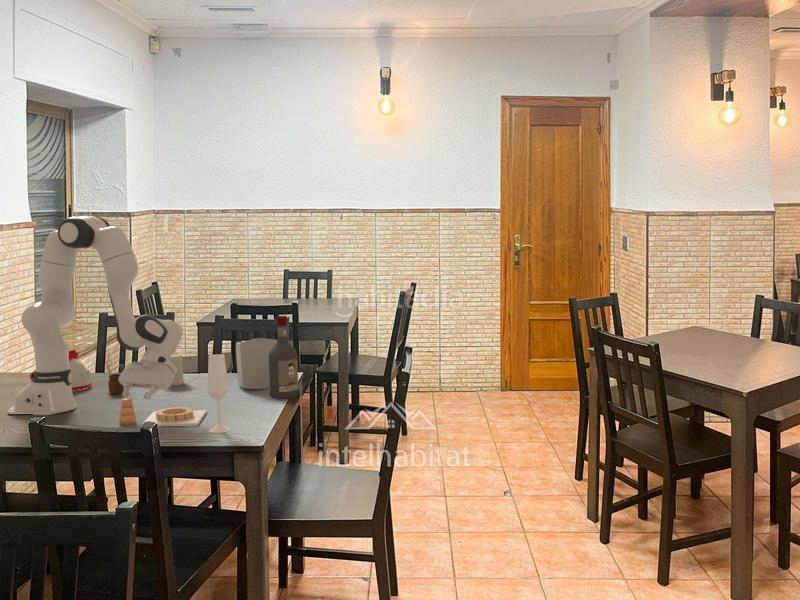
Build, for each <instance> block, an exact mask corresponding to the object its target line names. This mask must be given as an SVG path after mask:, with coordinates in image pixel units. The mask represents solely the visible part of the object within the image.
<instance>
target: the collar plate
mask: <svg viewBox="0 0 800 600" xmlns="http://www.w3.org/2000/svg"><path fill="white" fill-rule="evenodd" d="M206 412H207V410H206V409H198V410H197V409H196V410H194V409H193V408H192V407H185V406H183V407H182V406H179V407H178V406H177V407H176V406H175V407H168V408H167V407H166V408H162V409H159V410H156V411H153V412H151V414H150V415H149V416H148V417H147V418H146V419H145V420H144V421H143V422H142V423H141V425H142V424H143V423H144V422H147V421H151V422H156V423H157V424H158V426H160V427H159V428H162V427H161V426H166V427H165V428H168V427H167V426H186V427H198V426H199V425H200V423H201V422H202V420H203V419H204V417H205V416H204V415H207V413H206ZM202 418H203V419H202ZM200 421H201V422H200ZM198 424H199V425H198ZM141 425H140V426H141Z"/></svg>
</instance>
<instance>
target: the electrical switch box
mask: <svg viewBox="0 0 800 600" xmlns="http://www.w3.org/2000/svg"><path fill="white" fill-rule="evenodd" d="M277 340H278V339H273V338H265V337H264V338H263V337H257V338H253V339H248V340H244V341H237V342H236V343H235V357H236V371H237V383H238V387H239V388H242V389H247V390H249V389H250V390H258V389H263V390H267V389H270V377H269V353H270V351H271V350H272V348H273V347H274V346H275V345H276V343H277Z"/></svg>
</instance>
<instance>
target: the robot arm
mask: <svg viewBox="0 0 800 600" xmlns="http://www.w3.org/2000/svg"><path fill="white" fill-rule="evenodd" d="M90 248H92V249H94V250H96V252H97V253H98V255H99V258H100V261H101V264H102V268H103V270H104V274H105V277H106V282H107V290H108V296H109V300H110V303H111V307H112V312H113V315H114V319H115V324H116V340H117V342H118V344H119V345H120V346H121V347H122V348H123V349H124V350H127V351H131V352H133V351H137V350H139V349H141V348H142V347H146V350H145V352H144V354H143V355H142V356H141V359H140V361H132V362H131V363H129V364H128V365H127V366H125V367H124V368H123V370H124V371H123V372H120V374H121V375H120V376H119V382H120V383H121V384H122V385H123V386H124V391H123V393H122V394H121V395H122V396H123V397H124V398H130V397H129V396H130V394H131V393H130V391H129V390H131V389H132V388H139V389H149V390H148V391H146V392H145V393H144V395H143V398H144V399H145V400H151V398H152V396H153V395H155V394H156V393H157V392H158V390H160V391H161V390H162V391H166V390H167V389H168V390H169V388H170V387H171V386H170V385H171V383H172V381H173V379H174V377H175V374H176V373H177V371H178V369H177V368H176V366H175V365H174V364H173V363H172V362H171V361H170V360H171V356H172V355H173V354H174V353H176V351H177V349H178V347H179V344H180V343H181V340H182V337H183V330H182V327H181V326H180V324H178V323H177V321H174V320H171V319H160V318H157V317H156V316H154V315H151V314H143V315H139V316H138V317H137V316H136V317H135V315H134V311H133V307H132V304H131V300H130V290H131V288H132V285H133V283H134V282H135V279H136V278H137V276H138V272H139V267H138V266H139V265H138V260H137V258H136V255H135V253H134V250H133V247H132V245H131V243H130V241H129V239H128V237H127V236H126V233H125V232H124V231H123V229H122V228H120V227H118V226H111V224H110V223H109V222H108V221H107V220H106V219H105V218H103V217H101V216H95V215H94V216H92V215H82V216H70V217H67V218H65V219H63V220H62V221H61V222H60V223H59V225H58V227H57V229H56V230H53V231H51V232H50V233H49V234H48V236H47V237H46V241H45V244H44V247H43V251H42V254H41V258H40V259H41V261H40V266H39V272H38V279H37V281H38V284H39V285H40V290H41V301H37V302H34V303H32V304H31V305H29V306H28V307H26V308H25V309H24V311H23V312H22V314H21V324H22V326H23V328H24V329H25V330H26V331H27V332H28V334H29V337H30V340H31V342H32V346H33V350H34V352H33V353H34V359H35V361H34V362H35V370H33V371H32V372H31V373H30V374H29V379H30V382H29V383H28V384H27V385H25V386H24V387H23V388H22V389H21V390H20V391H18V392H17V393H16V395H15V397H14V405H13V406H11V407H10V408H9V409H8V410H7V413H8V412H9V413H26V414H33V415H32V416H51V415H54V414H60V413H64V412H69V411H72V410H75V409H77V407H78V406H77V403H76V401H75V398H74V395H73V391H72V388H71V383H72V375H71V369H70V368H69V347H68V345H67V344H66V343H65V340H64V338H63V335H62V332H61V329H63V328H65V327H67V326H68V325H70V324H71V322H73V320H74V319H75V317H76V307H75V305H74V303H73V292H72V289H73V288H72V286H73V279H74V272H75V267H76V266H75V265H76V261H77V260H76V259H77V255H78V252H79V250H81V249H90ZM10 410H12V411H10Z"/></svg>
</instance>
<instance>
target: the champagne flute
mask: <svg viewBox="0 0 800 600" xmlns="http://www.w3.org/2000/svg"><path fill="white" fill-rule="evenodd" d="M225 357H226V356H225V355H224V354H210V355H208V370H207V388H206V391H207V394H208V395H209V396H210V397H211V398H212V400H215V401H216V413H217V414H216V415H217V416H216V417H217V424H216V425H215V426H213V427H211V429H209V430H208V431H210V432H209V433H212V432H213V433H212V434H223V433H227V432H229V431H231V428H229V427H228V426H226V425H223V424H222V409H221V408H222V407H221V406H222V405H221V404H222V403H221V400H223V399H224V398H225V397H227V395H228V393H229V390H230V388H229V380H228V373H227V365H226V358H225Z"/></svg>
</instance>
